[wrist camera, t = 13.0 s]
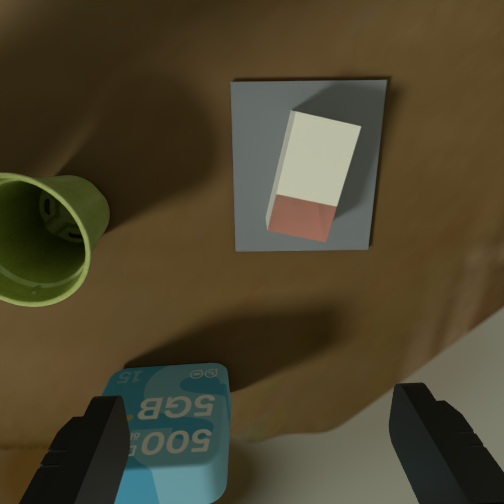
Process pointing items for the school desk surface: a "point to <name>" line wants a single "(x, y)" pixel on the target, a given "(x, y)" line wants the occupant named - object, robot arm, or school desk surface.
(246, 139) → the mat
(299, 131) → the white rectangular block
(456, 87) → the school desk surface
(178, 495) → the data package
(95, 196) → the plant pot
